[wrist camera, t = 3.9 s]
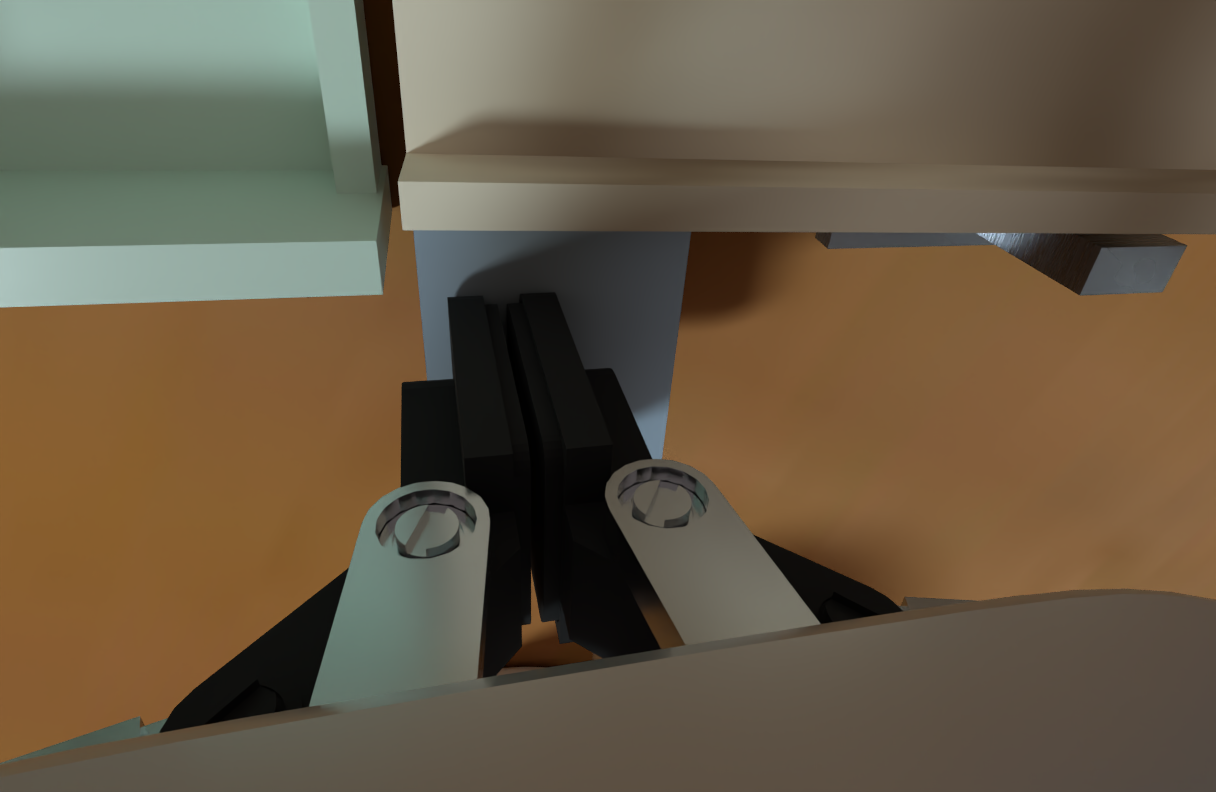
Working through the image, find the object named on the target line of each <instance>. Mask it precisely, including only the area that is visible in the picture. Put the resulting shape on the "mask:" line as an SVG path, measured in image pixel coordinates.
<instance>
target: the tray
mask: <svg viewBox="0 0 1216 792" xmlns="http://www.w3.org/2000/svg"><path fill="white" fill-rule="evenodd" d="M391 216H392V203H391V194H390V185H389V176H388V166H387V165H381V157H380V148H379V139H378V130H377V121H376V112H375V103H374V94H373V85H372V76H371V67H370V58H369V49H368V41H367V32H366V23H365V14H364V5H363V0H0V307H24V306H54V305H84V304H113V303H143V302H173V301H202V300H232V299H262V298H292V297H321V296H351V295H381V294H383V288H384V279H385V270H386V261H387V252H388V243H389V234H390V225H391Z"/></svg>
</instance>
